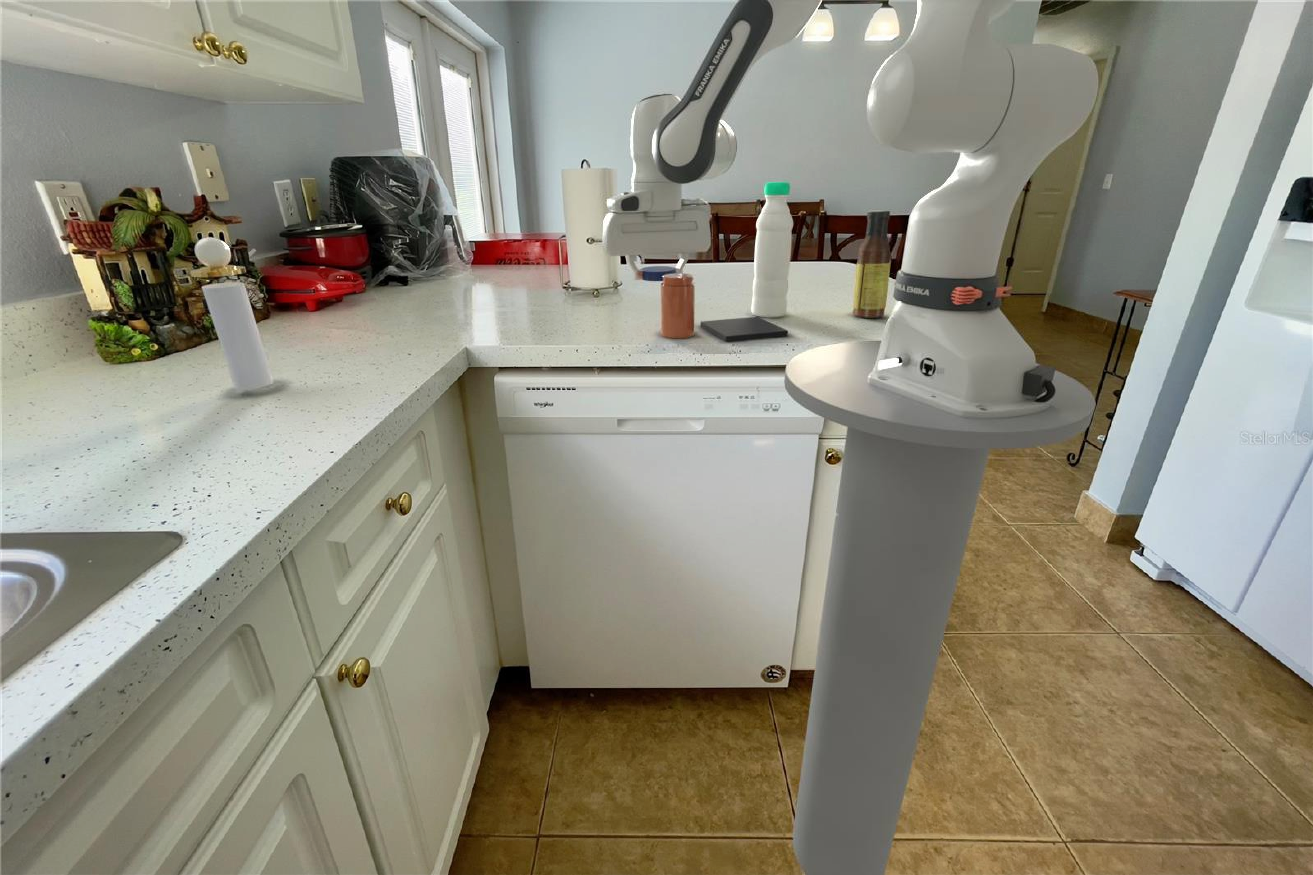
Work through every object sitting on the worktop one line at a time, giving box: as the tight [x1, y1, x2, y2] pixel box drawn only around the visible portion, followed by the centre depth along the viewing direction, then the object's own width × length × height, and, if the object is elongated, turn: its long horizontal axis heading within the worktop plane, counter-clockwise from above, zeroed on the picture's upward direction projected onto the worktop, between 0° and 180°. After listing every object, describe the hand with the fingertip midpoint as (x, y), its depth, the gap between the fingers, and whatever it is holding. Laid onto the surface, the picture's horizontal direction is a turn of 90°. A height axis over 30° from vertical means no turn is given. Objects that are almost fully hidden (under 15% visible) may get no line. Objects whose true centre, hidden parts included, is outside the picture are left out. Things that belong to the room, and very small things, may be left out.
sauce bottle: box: [852, 209, 892, 319], centre depth 114 cm, size 7×6×20 cm
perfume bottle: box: [189, 236, 274, 391], centre depth 76 cm, size 6×6×20 cm
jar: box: [660, 273, 696, 339], centre depth 104 cm, size 6×6×10 cm
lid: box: [640, 265, 676, 282], centre depth 110 cm, size 6×6×2 cm
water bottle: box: [750, 181, 794, 318], centre depth 115 cm, size 7×7×25 cm
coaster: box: [700, 316, 789, 343], centre depth 107 cm, size 12×12×1 cm
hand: (657, 278), depth 110 cm, fingers closed on lid, 6 cm apart
